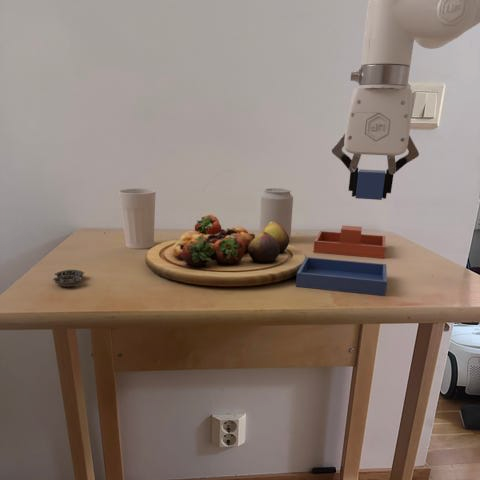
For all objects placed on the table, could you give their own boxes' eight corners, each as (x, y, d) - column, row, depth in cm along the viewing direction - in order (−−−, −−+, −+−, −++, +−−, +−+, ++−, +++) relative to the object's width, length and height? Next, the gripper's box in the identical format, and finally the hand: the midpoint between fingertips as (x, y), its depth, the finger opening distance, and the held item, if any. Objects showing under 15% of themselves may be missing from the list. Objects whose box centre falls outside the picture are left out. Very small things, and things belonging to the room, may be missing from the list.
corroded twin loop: (50, 289, 81) (50, 283, 81) (57, 274, 88) (56, 269, 88) (82, 287, 82) (81, 281, 82) (85, 273, 89) (85, 268, 89)
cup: (119, 249, 106) (115, 193, 101) (124, 241, 113) (120, 188, 109) (156, 249, 107) (154, 194, 102) (158, 241, 114) (156, 188, 110)
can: (271, 244, 113) (274, 192, 109) (253, 238, 119) (255, 188, 114) (296, 241, 117) (300, 190, 112) (277, 235, 123) (280, 186, 118)
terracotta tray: (383, 246, 114) (385, 235, 113) (384, 258, 104) (385, 247, 103) (319, 241, 118) (319, 230, 117) (313, 252, 108) (314, 241, 107)
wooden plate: (152, 245, 111) (150, 208, 108) (290, 244, 114) (292, 208, 110) (136, 290, 82) (133, 242, 78) (323, 288, 84) (327, 241, 81)
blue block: (381, 196, 86) (385, 170, 84) (381, 200, 82) (385, 173, 80) (356, 194, 87) (359, 169, 85) (355, 198, 83) (358, 171, 81)
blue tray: (384, 276, 92) (386, 264, 91) (384, 295, 82) (387, 281, 81) (304, 269, 96) (305, 256, 95) (295, 286, 86) (296, 273, 85)
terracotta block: (359, 245, 112) (361, 226, 111) (358, 250, 108) (361, 230, 107) (340, 244, 113) (342, 225, 112) (339, 248, 109) (341, 229, 108)
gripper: (328, 77, 76) (317, 196, 83) (442, 78, 72) (421, 203, 79) (332, 81, 83) (322, 190, 90) (437, 82, 79) (418, 196, 86)
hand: (369, 195), depth 84 cm, fingers closed on blue block, 4 cm apart
